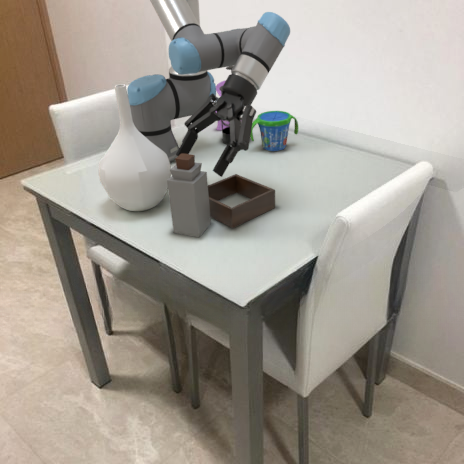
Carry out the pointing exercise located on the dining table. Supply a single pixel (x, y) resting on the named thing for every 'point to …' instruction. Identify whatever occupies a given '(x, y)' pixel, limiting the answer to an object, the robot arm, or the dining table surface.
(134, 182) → the vase
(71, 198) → the dining table surface
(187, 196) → the perfume bottle
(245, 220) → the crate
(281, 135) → the sippy cup
